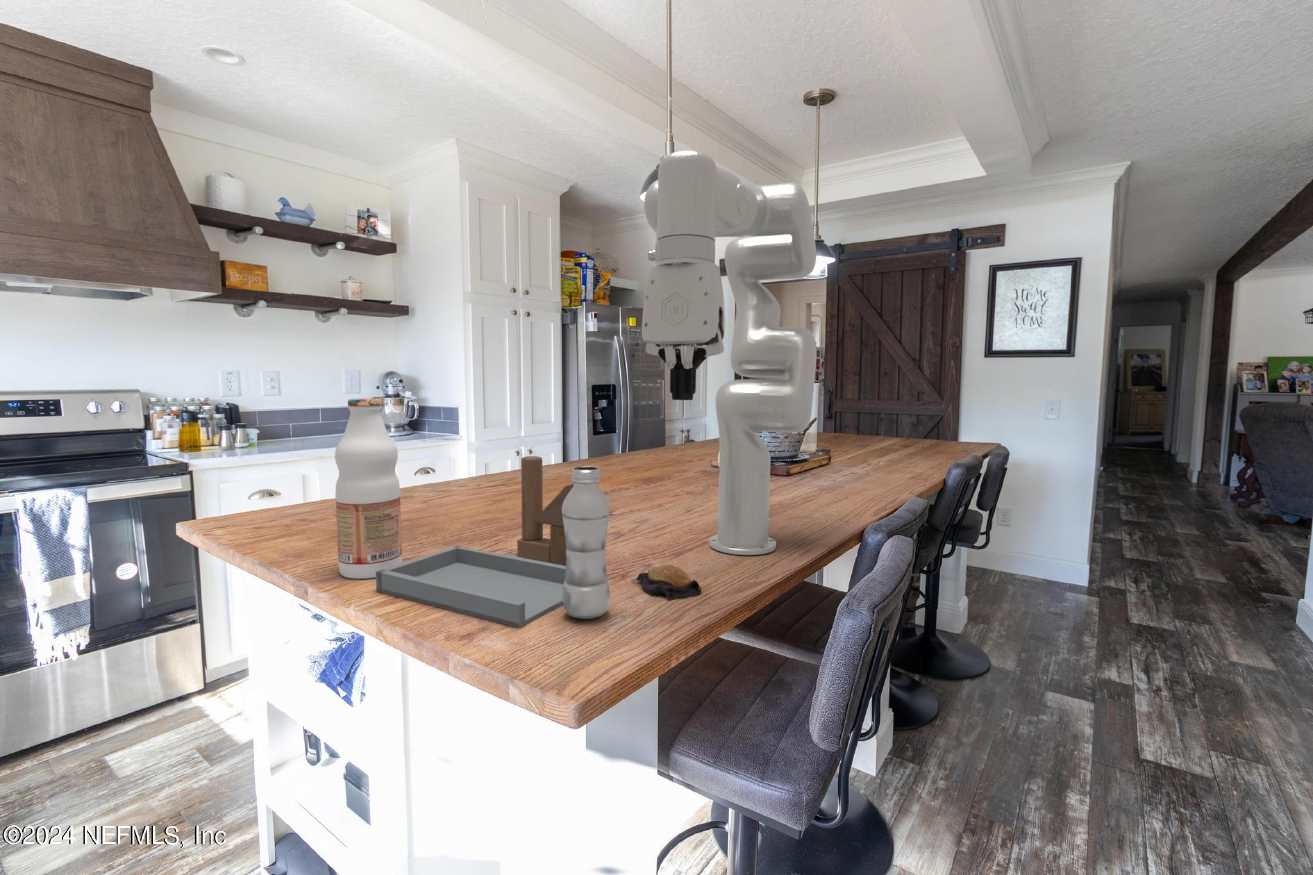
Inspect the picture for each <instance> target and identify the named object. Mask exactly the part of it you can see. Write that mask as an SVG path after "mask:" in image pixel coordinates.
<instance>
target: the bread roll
mask: <svg viewBox="0 0 1313 875" xmlns="http://www.w3.org/2000/svg"><path fill="white" fill-rule="evenodd" d="M630 582H631V583H632V584H633V585H635V586H636V587H638V588H639V589H640V590H641V591H643V592H645V593H646V594H649V595H650V596H653V597H654V598H658V599H666V600H667V602H669V601H670V602H671V601H675V600H676V601H677V600H682V599H690V598H693V597H694V598H695V597H698V596H700V595H701V593H703V591H702V587H701V585H700V584H699V582H698V581H697V580H695V579H691V577H690V576H689V575H688V574H687V573H686V572H685V571H684V570H683V569H682V568H680V567H678V566H675V565H672V564H663V565H659V566H653V567H652V568H650V569H649V570H647V572H640V573H639V574H638V576H637V577H636V578H633V579H631V581H630Z"/></svg>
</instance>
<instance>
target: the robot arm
mask: <svg viewBox="0 0 1313 875" xmlns="http://www.w3.org/2000/svg"><path fill="white" fill-rule="evenodd" d="M643 204H644V205H643V207H644V209H643V210H644V214H645V218H646V221H647V223H648V225H649V226H650V228H651V229H652V230H653V232H655V233H656V243H655V249H653V250H649V251H648V252H647V258H648V261H649V262H655V264H656V265H655V266H651V267H650V269H649V273H648V275H647V281H646V287H645V292H644V300H643V308H642V321H641V337H642V340H643V341H644V342H645V343H646V344H645V353H647V354H649V355H652V356H656V357H660V358H661V360H662V361H663V362H664V363H665V364H666V368H668V369H670V370H669V373H670V374H669V392H670V393H671V399H672V401H693V399H694V395H695V394H696V390H697V370H698V369H699V368H700V367H701V364H703V363H704V361H706V359H708V357H713V356H716V355H719V354H722V353H724V351H725V350H724V349H725V348H724V343H723V340H724V337H725V328H726V326H725V325H726V324H725V322H726V321H725V320H726V317H725V299H724V298H725V297H724V290H723V289H724V288H723V282H722V277H721V276H722V275H721V270H720V267H719V265H717V264H716V238H724V237H725V238H734V239H733V240H731V241H730V242H729V243H727V245H726V247H725V249H724V250H725V251H724V266H725V270H726V276H727V278H728V282H729V286H730V290H731V292H732V295H733V299H734V302H735V307H736V308H735V309H736V313H735V322H734V328H733V334H732V336H733V337H732V342H731V350H730V365H731V369H732V371H733V372H734V373H735V374H737V375H738V376H742V377H746V379H745V378H744V379H734V380H730V381H727V382H725V383H723V384H721V386H720V387H719V388H718V390H717V392H716V395H715V412H716V418H717V426H718V438H719V442H718V443H719V458H718V462H719V463H718V465H719V466H718V468H719V469H718V503H717V504H718V506H717V508H718V510H717V513H718V514H717V519H718V520H717V534H714V535H712V536H711V537H710V538H709V540H708V541H709V546H710V548H712V549H713V550H716V551H718V552H721V553H724V554H729V555H739V556H740V555H741V556H757V555H764V554H765V555H766V554H769V553H773V551H775V550H776V549H777V541H776V540H775V539H774V538H772V537H770V536H769V525H770V521H769V520H770V518H769V517H770V488H771V485H770V484H771V482H770V481H771V454H770V451H769V448H768V446H767V445H766V443H765V442H764V440H763V439H762V438H761V436H759V433H785V434H786V433H788V434H789V433H790V434H791V433H792V434H795V433H797V434H798V433H801V432H803V431H805V430H807V428H808V427H809V425H810V422H811V419H812V418H811V417H812V413H813V402H814V401H813V400H814V392H815V391H814V390H815V381H816V379H815V378H816V367H817V342H816V339H815V336H814V334H813V332H812V331H811V330H810V329H808V328H805V327H803V326H780V320H781V312H782V311H781V305H780V304H779V301H778V300H777V299H776V296H774V295H773V294H772V292H771V291H770V290H769V289H768V288H766V287H765V285H763V284H762V283H761V281H771V280H772V281H773V280H790V279H792V280H793V279H802V278H805V277H807V276H809V275H810V274H812V272H813V271H814V269H815V266H816V262H817V247H816V246H817V245H816V240H815V234H814V233H815V232H814V227H813V219H812V213H811V208H810V207H811V206H810V203H809V199H808V196H807V193H806V192H805V190H804V189H803V187H802V186H801V185H800V184H798V183H795V182H783V183H775V184H763V185H751V184H748V183H746V182H743V181H742V180H741V179H740V178H739V177H738V176H737V175H736V174H735V173H733V172H732V171H729V170H727V169H724V168H722V167H719V166H717V164H716V161H715V160H714V158H712V157H711V156H710V155H709V154H707V153H704V152H700V151H695V150H681V151H676V152H671V153H669V154H667V155H666V156H664V157H663V158H662V159H661V161H660V163H659V165H658V172H657V179H656V180H655V181H653V182H652V183H651V184H650V186H648V188H647V190H646V193H645V196H644V202H643ZM682 347H685V350H684V355H683V348H682ZM747 378H750V379H747ZM751 378H752V379H751ZM754 378H755V379H754ZM756 378H760V379H756ZM761 378H762V379H761ZM763 378H764V379H763ZM765 378H766V379H765ZM767 378H769V379H767ZM772 378H776V379H772ZM782 379H783V380H782Z"/></svg>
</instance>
